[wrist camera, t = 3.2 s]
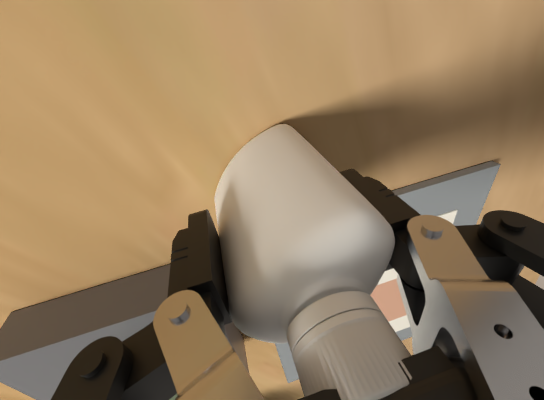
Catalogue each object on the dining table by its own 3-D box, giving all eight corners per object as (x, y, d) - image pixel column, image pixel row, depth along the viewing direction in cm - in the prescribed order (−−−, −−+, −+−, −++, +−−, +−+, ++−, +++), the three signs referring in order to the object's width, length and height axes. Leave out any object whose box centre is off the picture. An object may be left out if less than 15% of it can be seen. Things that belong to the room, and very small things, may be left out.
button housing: (11, 312, 14) (-26, 369, 12) (203, 254, 16) (204, 295, 13) (113, 385, 21) (102, 431, 18) (243, 339, 22) (249, 377, 20)
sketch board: (240, 236, 16) (242, 244, 15) (492, 160, 18) (502, 165, 17) (286, 377, 28) (288, 384, 28) (429, 323, 30) (433, 329, 30)
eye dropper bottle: (315, 184, 15) (541, 467, 5) (226, 220, 15) (289, 584, 5) (299, 112, 12) (686, 410, 3) (191, 155, 12) (182, 646, 2)
